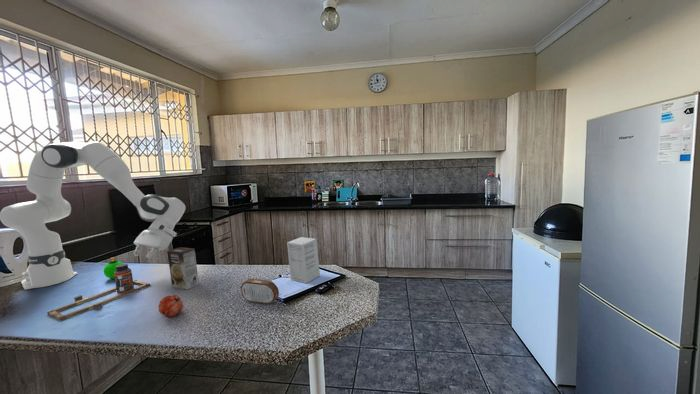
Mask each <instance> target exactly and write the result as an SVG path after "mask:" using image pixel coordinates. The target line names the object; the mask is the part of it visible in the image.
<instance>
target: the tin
mask: <svg viewBox="0 0 700 394" xmlns="http://www.w3.org/2000/svg"><path fill="white" fill-rule="evenodd" d="M240 291H241V295H242V297H243V298H244V299H245V300H246V301H248V302H252V303H257V304H258V303H259V304H264V305H269V304H270V305H271V304H272V303H274V302H275V301H276V300H278V298H279V296H280V292H279V291H280V290H279V288H278V286H277V285H276V283H274V282H273V281H272V280H267V279H260V278H248V279H246V280H245V281H243V283H241V286H240Z"/></svg>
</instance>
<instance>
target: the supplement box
mask: <svg viewBox="0 0 700 394" xmlns="http://www.w3.org/2000/svg"><path fill="white" fill-rule="evenodd" d="M286 245H287V256H288V265H289V275H290V276H289V277H290V281H294V282H300V283H304V284H308V283H309V282H311V281H313V280H314V279H317V278H318V277H320V276H321V273H320V261H319V250H318V240H317V238H311V237H303V236H300V237H297V238H296V239H292V240H290V241H287V242H286Z"/></svg>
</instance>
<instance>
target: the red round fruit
mask: <svg viewBox="0 0 700 394" xmlns="http://www.w3.org/2000/svg"><path fill="white" fill-rule="evenodd" d="M184 305H185V303H184V301H183V300H182V298H181V297H180V296H179V295H177V294H174V295H173V294H172V295H171V294H170V295H166V296H164V297H163V298H161V300H160V301H159V303H158V306H157V308H158V311H159V313H160V314H161V315H162V316H164V317H165V318H172V317H174V316H176V315H177V314H179V313H181V312H182V310H183V308H184Z"/></svg>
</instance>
